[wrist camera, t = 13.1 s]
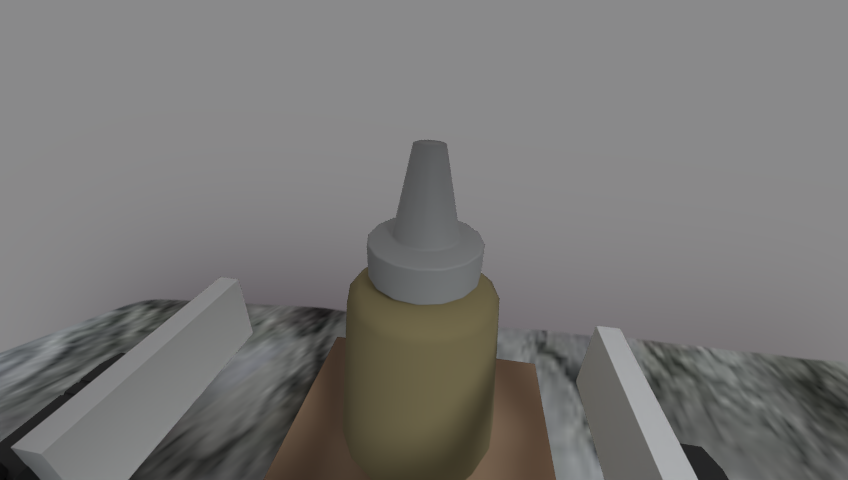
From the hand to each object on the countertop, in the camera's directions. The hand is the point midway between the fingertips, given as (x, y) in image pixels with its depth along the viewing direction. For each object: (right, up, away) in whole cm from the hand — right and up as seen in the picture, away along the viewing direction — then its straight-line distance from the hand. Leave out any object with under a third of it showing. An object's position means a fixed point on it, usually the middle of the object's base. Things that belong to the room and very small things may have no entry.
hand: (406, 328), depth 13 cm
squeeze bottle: (0, -9, +8) cm, 12 cm away
